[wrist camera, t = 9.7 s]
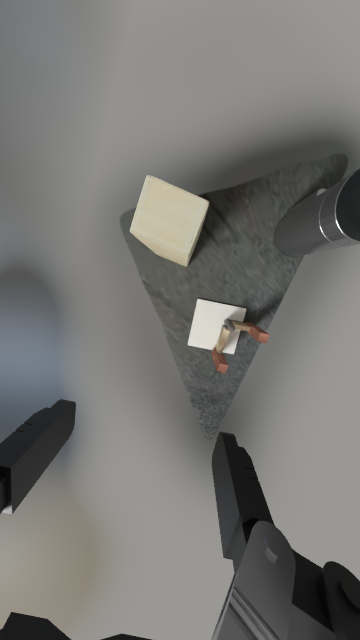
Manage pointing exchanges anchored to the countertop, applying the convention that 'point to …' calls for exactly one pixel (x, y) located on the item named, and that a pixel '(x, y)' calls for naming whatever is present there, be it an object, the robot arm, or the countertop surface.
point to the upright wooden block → (169, 220)
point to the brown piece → (249, 330)
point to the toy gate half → (217, 351)
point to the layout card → (214, 325)
